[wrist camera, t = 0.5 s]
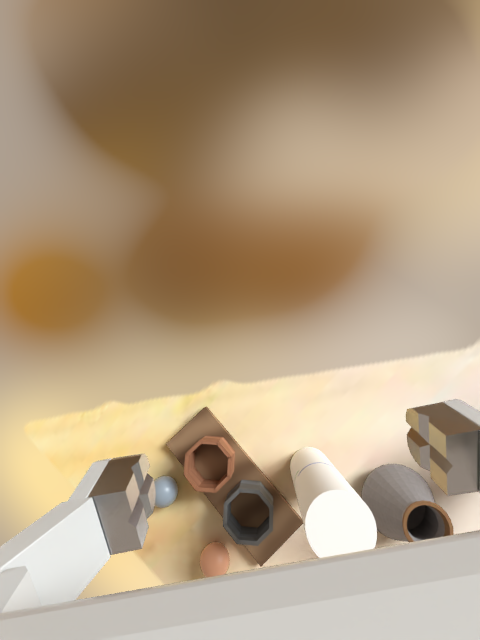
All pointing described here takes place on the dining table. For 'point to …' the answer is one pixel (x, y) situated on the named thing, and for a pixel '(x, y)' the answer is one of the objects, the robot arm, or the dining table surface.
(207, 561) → the terracotta ball
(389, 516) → the coffee pot
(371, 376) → the dining table surface
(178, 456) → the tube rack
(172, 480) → the slate ball
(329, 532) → the cylindrical container
